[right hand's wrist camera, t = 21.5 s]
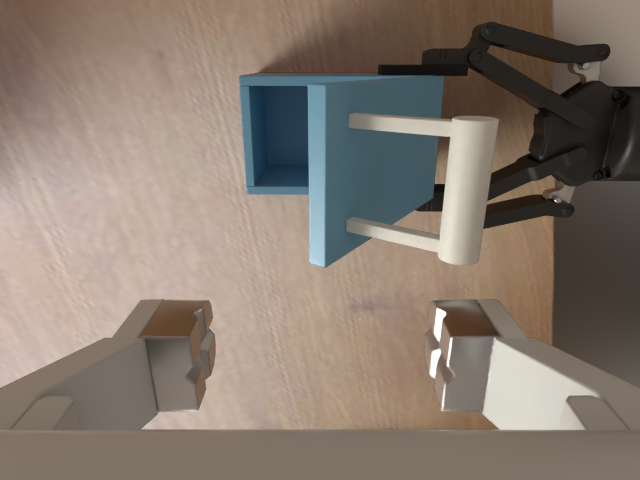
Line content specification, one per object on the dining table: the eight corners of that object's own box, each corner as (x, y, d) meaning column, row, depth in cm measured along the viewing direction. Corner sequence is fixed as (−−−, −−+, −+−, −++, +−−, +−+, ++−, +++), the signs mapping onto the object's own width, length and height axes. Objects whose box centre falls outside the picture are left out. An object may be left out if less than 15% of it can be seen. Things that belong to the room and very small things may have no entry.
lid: (308, 263, 24) (459, 306, 20) (306, 83, 21) (488, 89, 16) (420, 196, 36) (528, 214, 32) (430, 75, 33) (553, 77, 28)
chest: (261, 170, 45) (246, 194, 37) (256, 72, 42) (238, 75, 33) (407, 170, 45) (425, 195, 36) (414, 72, 41) (436, 75, 33)
